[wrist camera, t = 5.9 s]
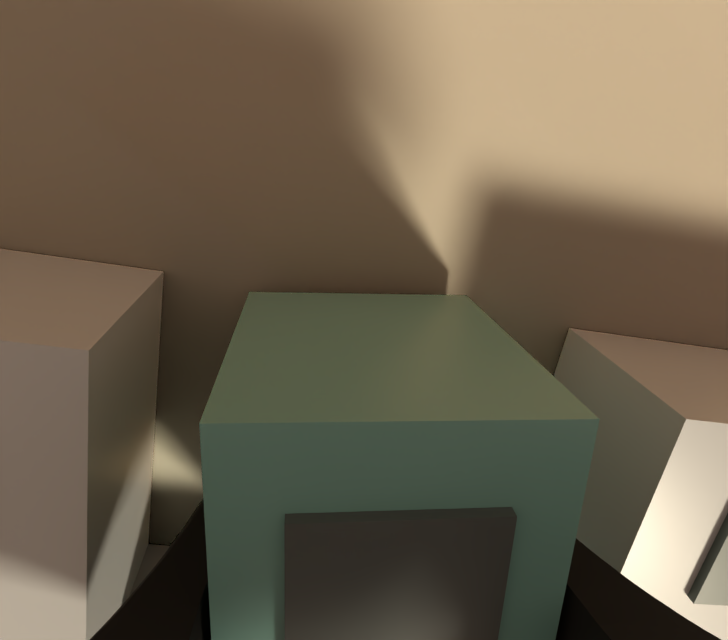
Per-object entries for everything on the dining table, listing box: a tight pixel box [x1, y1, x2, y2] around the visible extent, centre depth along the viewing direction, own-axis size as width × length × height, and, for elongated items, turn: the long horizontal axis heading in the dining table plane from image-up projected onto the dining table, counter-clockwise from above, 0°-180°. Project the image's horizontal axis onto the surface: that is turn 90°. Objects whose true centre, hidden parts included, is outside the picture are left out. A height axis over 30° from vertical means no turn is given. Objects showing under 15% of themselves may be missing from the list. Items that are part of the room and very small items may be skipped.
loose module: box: [199, 292, 600, 640], centre depth 10 cm, size 5×7×6 cm
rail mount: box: [0, 249, 728, 640], centre depth 12 cm, size 26×10×5 cm, turn 80°
